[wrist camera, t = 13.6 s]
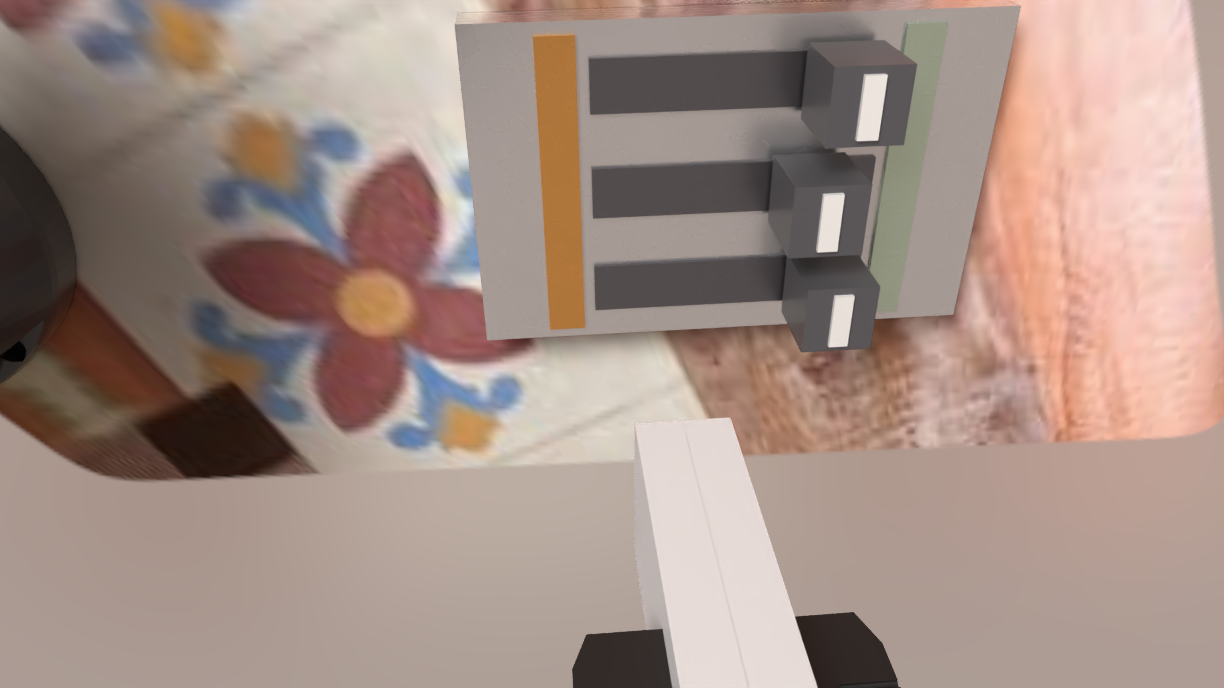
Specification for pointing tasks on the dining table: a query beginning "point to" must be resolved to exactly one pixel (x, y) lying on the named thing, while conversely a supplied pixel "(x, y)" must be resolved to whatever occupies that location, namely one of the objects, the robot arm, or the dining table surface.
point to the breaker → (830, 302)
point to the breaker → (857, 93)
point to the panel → (707, 157)
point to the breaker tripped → (818, 204)
